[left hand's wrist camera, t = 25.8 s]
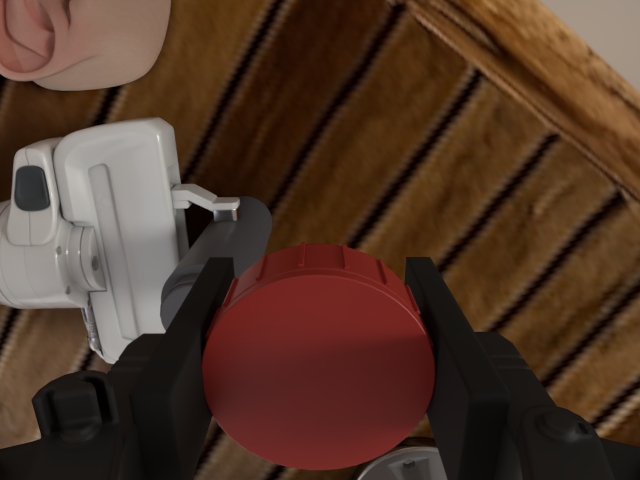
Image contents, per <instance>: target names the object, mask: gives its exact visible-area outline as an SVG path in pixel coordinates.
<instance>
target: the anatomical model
mask: <svg viewBox="0 0 640 480" xmlns="http://www.w3.org/2000/svg"><path fill="white" fill-rule="evenodd" d="M170 7H171V0H0V74H1V75H3V76H4V77H6V78H8V79H11V80H15V81H34V82H35V83H37V84H38V85H40V86H42V87H44V88H47V89H52V90H61V91H78V90H92V89H101V88H108V87H114V86H119V85H122V84H126V83H130V82H132V81H135V80H137V79H139V78H140V77H142V76H143V75H145V74H146V73H147V72H148V71H149V70H150V69H151V67H152V66H153V65H154V63H155V61H156V60H157V57H158V55H159V53H160V51H161V48H162V45H163V42H164V39H165V35H166V31H167V27H168V21H169V16H170Z"/></svg>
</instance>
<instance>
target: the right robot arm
mask: <svg viewBox="0 0 640 480" xmlns="http://www.w3.org/2000/svg"><path fill="white" fill-rule="evenodd" d="M192 203H195V204H197V205H199V206H201V207H204V208H206V209H208V210H210V211H212V212H213V213H214V221H215V222H223V221H225V220H227V221H231V222H233V221H238V220H239V218H240V217H241V212H240V199H239V198H238V197H217V196H216V195H214V194H213V193H211V192H209V191H207V190H205V189H203V188H201V187H199V186H198V185H196V184H181V180H180V173H179V165H178V158H177V150H176V143H175V135H174V129H173V127H172V126H171V125H170V124H169V123H167V122H166V121H164V120H163V119H161V118H159V117H148V118H137V119H130V120H124V121H118V122H112V123H107V124H102V125H98V126H93V127H90V128H86V129H82V130H78V131H75V132H72V133H70V134H68V135H67V136H65V137H57V138H50V139H45V140H42V141H38V142H36V143H33V144H31V145H28V146H26V147H24V148H22V149H20V150H18V151H17V152H16V154H15V157H14V163H13V179H12V192H11V199H10V200H7V201H4V202H1V203H0V305H6V306H9V307H13V308H18V309H44V308H80V309H81V314H82V318H83V321H84V324H85V327H86V329H87V333H88V336H87V339H88V344H89V346H90V348H91V350H93V351H96V352H97V354H98V355H99V356H100V357H101V358H103V359H104V360H105V362H107V363H111V364H114V363H115V362H116V361H117V360H118V359H119V356H120V355H121V353H122V352H123V351H124V349H125V348H126V346H127V345H128V344H129V343H131V342H132V341H133V340H135V339H136V338H138V337H139V336H140V335H142V334H143V333H165V332H166V331H165V329H164V327H163V325H162V322H161V317H160V305H161V292H162V289H163V286H164V284H165V282H166V281H167V279H168V278H169V276H170V275H171V274H172V272H173V271H174V270H175V268H176V267H177V266H178V264H179V263H180V262H181V260H182V259H183V258H184V256H185V255H186V254H187V252H188V251H189V250H190V249H189V241H188V233H187V226H186V218H185V211H184V208H188V207H189V206H190V205H191V204H192ZM101 348H102V350H101Z"/></svg>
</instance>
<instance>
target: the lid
mask: <svg viewBox="0 0 640 480" xmlns="http://www.w3.org/2000/svg"><path fill="white" fill-rule="evenodd" d="M419 314H420V312H419V309H418V307H417V304H416V302H415V300H414V297H413V295H412V292H411V290H410V287H409V286H408V285H406V286H405V285H404V284H403V283H402V281H401V280H400V279H399V278H398V277H397V276H396V275H395V274H394V273H393V272H392V271H391V270H390V269H389V268H388V267H386V266H385V265H384V262H383V260H381V259H379V261H378V260H376V259H375V258H373V257H371V256H369V255H367V254H365V253H363V252H360V251H357V250H354V249H351V248H348V247H347V246H346V245H345V244H342V246H338V245H331V244H305V242H303V243H301V245H299V246H293V247H289V248H286V249H283V250H279V251H277V252H275V253H272V254H270V255H268V256H267V255H266V254H264V255H262V258H261V260H259V261H257V262H256V263H254V264H253V265H252V266H251V267H249V268H248V269H247V270H246V271H244V272H243V273H242V275H241V276H240V277H239V278H238V279H237V278H236V277H235V278H234V279H233V281H232V283H231V286H230V288H229V290H228V293H227V295H226V297H225V299H224V301H223V303H222V306H221V308H217V310H216V313H215V315H214V317H213V320H212V322H211V324H210V327H209V329H208V331H207V334H206V336H205V340H207V341H206V345H205V348H204V351H203V355H202V372H203V381H204V390H205V398H206V402H207V405H208V407H209V409H210V411H211V413H212V415H213V417H214V418H215V419H216V421H217V422H218V424H219V425H220V427H221V428H222V429H223V430H224V431H225V432H226V433H227V434H228V435H229V436H230V437H231V438H232V439H233V440H234V441H235V442H237V443H238V444H239V445H240V446H242V447H243V448H245V449H246V450H248V451H249V452H251V453H253V454H255V455H257V456H259V457H261V458H263V459H265V460H268V461H270V462H273V463H276V464H279V465H283V466H287V467H291V468H297V469H305V470H332V469H339V468H346V467H350V466H354V465H358V464H361V463H364V462H366V461H369V460H372V459H374V458H376V457H378V456H380V455H382V454H384V453H386V452H387V451H389V450H390V449H392V448H394V447H395V446H396V445H398V444H399V443H400V442H401V441H403V440H404V439H405V438H406V437H407V436H408V435H409V434H410V433H411V432H412V431H413V430H414V429H415V427H416V426H417V425H418V423H419V422H420V421H421V419H422V418H423V416H424V414H425V412H426V410H427V408H428V406H429V403H430V401H431V398H432V395H433V391H434V386H435V376H436V367H435V358H434V354H433V350H432V349H434V346H433V343H432V341H431V338H430V336H429V334H428V331H427V329H426V326H425V324H424V321H423V319H422V317H420V316H419Z"/></svg>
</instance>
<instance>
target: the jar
mask: <svg viewBox="0 0 640 480" xmlns="http://www.w3.org/2000/svg"><path fill="white" fill-rule="evenodd" d="M237 197H238V198H239V199H240V212H241V217H240V218H239V220H238V221H233V222H231V221H227V220H225V221H223V222H215V221H214V218H213V219H212V220H211V222H210V223H209V224H208V226H207V227H206V228H205V230H204V231H203V232H202V234H201V235H200V236H199V238H198V239H197V240H196V242H195V243H194V244H193V246H192V247H191V248H190V250H189V251H188V252H187V254H186V255H185V256H184V258H183V259H182V260H181V262H180V263H179V264H178V266H177V267H176V268H175V270H174V271H173V272H172V274H171V275H170V276H169V278H168V279H167V281H166V282H165V284H164V286H163V289H162V292H161V305H160V317H161V322H162V325H163V327H164V329H165V331H166V330H167V329H168V327H169V325H170V323H171V322H172V320H173V318H174V317H175V315H176V313H177V312H178V310H179V308H180V307H181V305H182V303H183V301H184V300H185V298H186V296H187V295H188V293H189V291H190V290H191V288H192V286H193V285H194V283H195V281H196V279H197V278H198V276H199V274H200V273H201V271H202V269H203V268H204V266H205V264H206V263H207V261H208V259H209V257H233V260H234V273H235V277H236V278H237V279H238V278H239V277H240V276H241V275H242V273H243V272H244V271H246V270H247V269H248V268H249V267H251V266H252V265H253V264H254V263H256V262H257V261H259V260H261V258H262V255H264V253H265V250H266V246H267V243H268V240H269V237H270V234H271V230H272V217H271V214H270V212H269V210H268V208H267V207H266V206H265V205H264V204H263V203H262V202H261V201H259V200H257V199H255V198H253V197H249V196H237Z"/></svg>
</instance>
